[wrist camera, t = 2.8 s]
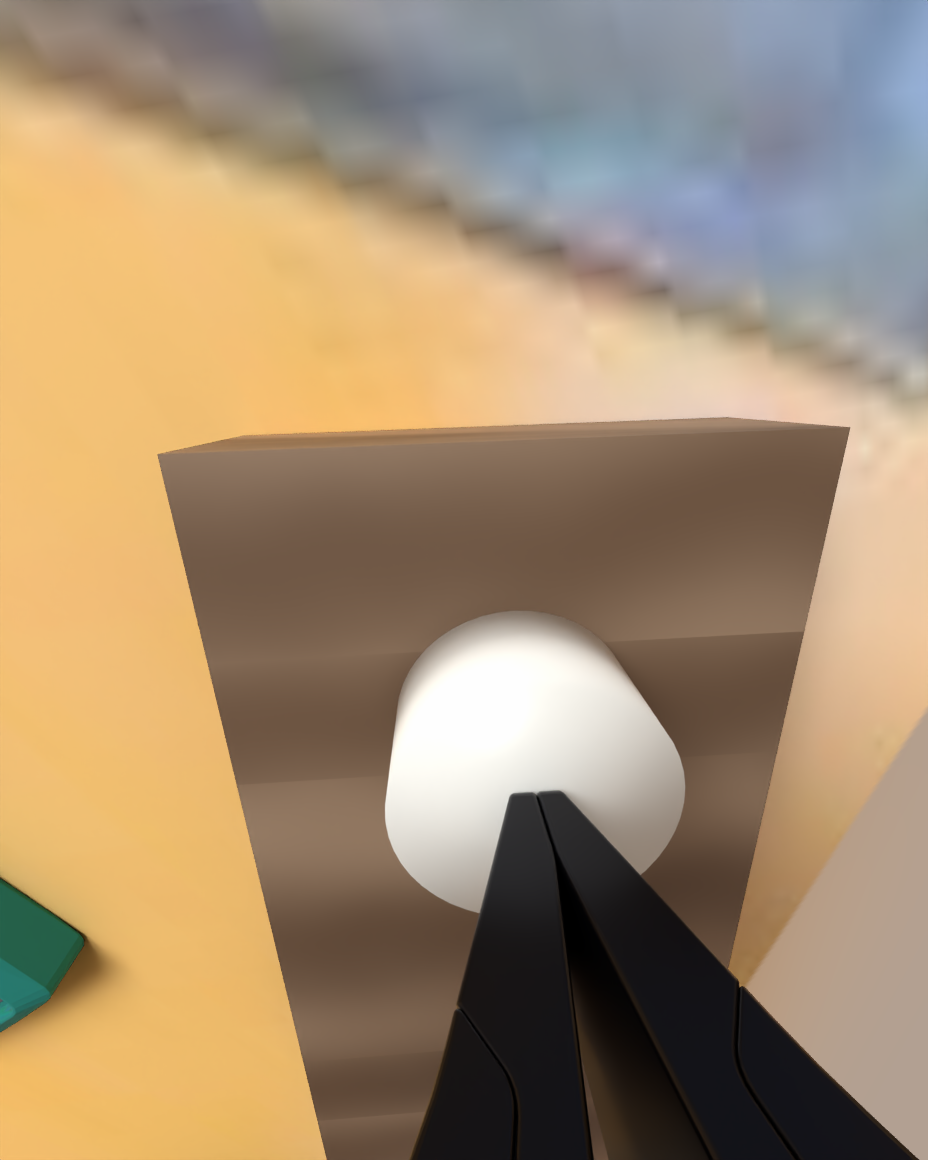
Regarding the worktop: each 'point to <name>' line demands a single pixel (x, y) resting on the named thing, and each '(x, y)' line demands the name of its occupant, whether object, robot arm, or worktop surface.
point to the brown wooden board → (435, 606)
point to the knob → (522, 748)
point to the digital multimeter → (30, 954)
